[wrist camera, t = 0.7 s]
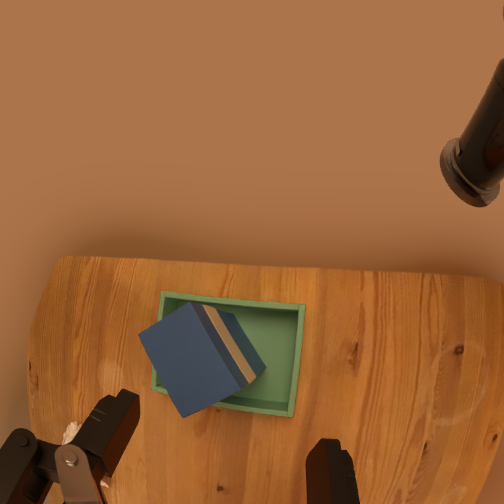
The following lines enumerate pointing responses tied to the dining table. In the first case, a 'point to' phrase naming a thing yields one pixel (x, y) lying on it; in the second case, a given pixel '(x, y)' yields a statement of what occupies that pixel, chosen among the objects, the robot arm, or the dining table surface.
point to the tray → (266, 345)
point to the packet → (201, 356)
